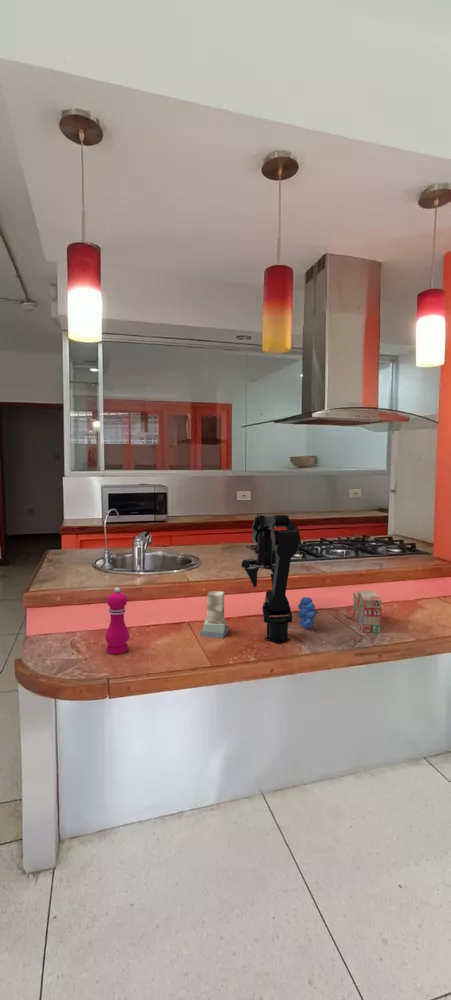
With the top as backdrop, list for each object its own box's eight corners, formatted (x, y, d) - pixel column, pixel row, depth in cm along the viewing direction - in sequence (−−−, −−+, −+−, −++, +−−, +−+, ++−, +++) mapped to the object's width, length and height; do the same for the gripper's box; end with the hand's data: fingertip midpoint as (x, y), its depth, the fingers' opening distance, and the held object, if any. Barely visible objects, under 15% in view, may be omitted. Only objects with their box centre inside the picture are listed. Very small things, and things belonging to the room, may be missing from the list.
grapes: (324, 633, 164) (325, 599, 164) (306, 634, 163) (307, 600, 162) (310, 623, 176) (311, 591, 175) (293, 624, 174) (294, 592, 173)
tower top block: (225, 625, 166) (225, 618, 166) (224, 632, 159) (224, 625, 159) (206, 624, 166) (206, 618, 166) (203, 631, 159) (203, 624, 159)
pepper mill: (109, 646, 150) (108, 584, 149) (131, 646, 150) (131, 585, 149) (102, 654, 143) (102, 590, 142) (125, 655, 142) (125, 590, 141)
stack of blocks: (353, 615, 187) (353, 584, 186) (369, 615, 186) (369, 585, 186) (362, 632, 166) (363, 598, 165) (380, 633, 165) (381, 599, 164)
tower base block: (228, 632, 166) (228, 625, 166) (222, 640, 158) (222, 633, 158) (207, 630, 168) (207, 623, 168) (200, 638, 160) (200, 631, 160)
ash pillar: (224, 619, 164) (224, 591, 164) (221, 624, 159) (221, 595, 159) (210, 619, 165) (210, 591, 165) (207, 623, 160) (207, 594, 160)
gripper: (298, 548, 172) (297, 590, 173) (259, 542, 185) (259, 581, 186) (280, 551, 164) (279, 595, 165) (241, 545, 177) (240, 586, 178)
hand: (264, 589), depth 174 cm, fingers open, 9 cm apart
